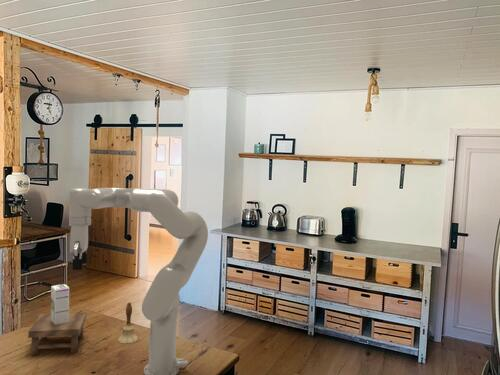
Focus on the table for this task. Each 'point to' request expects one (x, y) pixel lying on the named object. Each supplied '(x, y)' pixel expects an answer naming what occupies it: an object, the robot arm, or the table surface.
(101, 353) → the table surface
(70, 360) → the table surface
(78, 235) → the robot arm
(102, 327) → the table surface
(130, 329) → the hand bell
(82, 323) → the tan broad flat fixture
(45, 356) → the table surface
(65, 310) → the syrup box
